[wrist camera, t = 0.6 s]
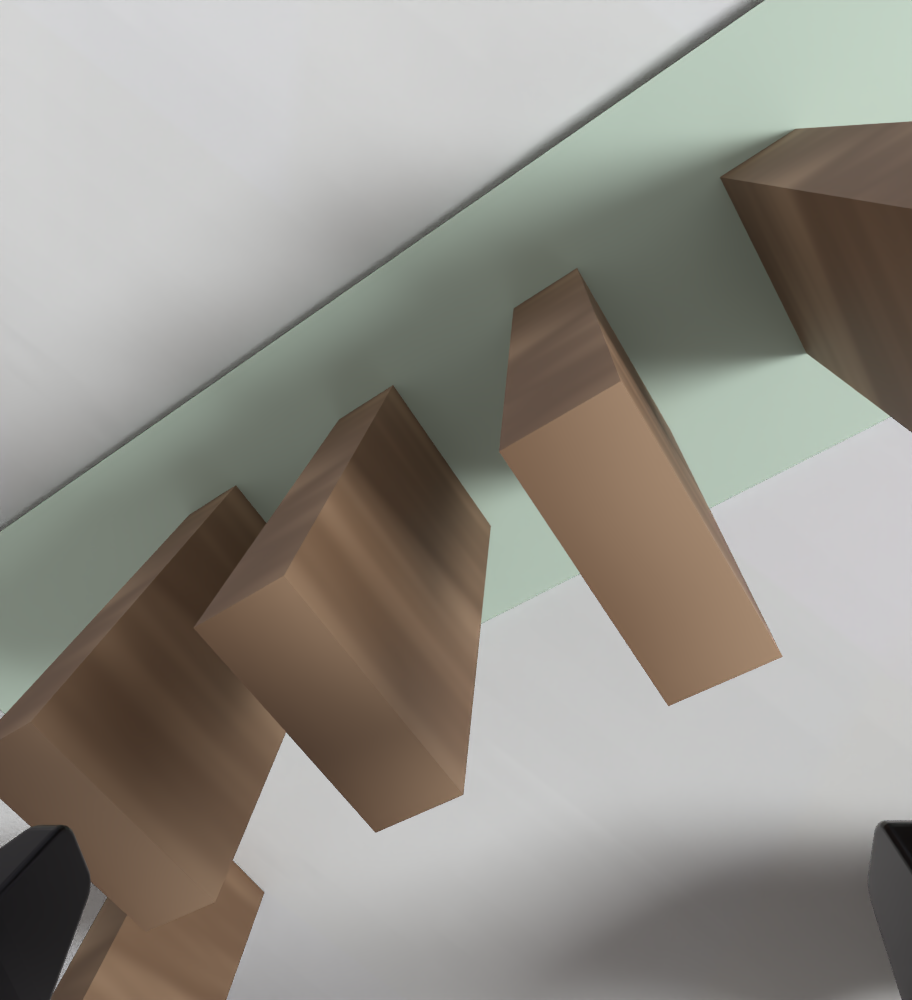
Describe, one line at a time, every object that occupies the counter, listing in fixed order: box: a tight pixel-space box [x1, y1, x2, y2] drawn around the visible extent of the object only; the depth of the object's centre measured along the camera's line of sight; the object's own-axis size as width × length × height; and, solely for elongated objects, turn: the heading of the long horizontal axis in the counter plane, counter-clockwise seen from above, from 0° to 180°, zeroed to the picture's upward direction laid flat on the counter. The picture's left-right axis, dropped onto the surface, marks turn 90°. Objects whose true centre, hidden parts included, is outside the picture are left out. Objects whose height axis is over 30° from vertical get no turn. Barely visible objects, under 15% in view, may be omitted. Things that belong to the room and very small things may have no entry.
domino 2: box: [51, 861, 264, 1000], centre depth 25 cm, size 2×5×10 cm, turn 33°
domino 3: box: [194, 385, 491, 833], centre depth 17 cm, size 2×5×10 cm, turn 33°
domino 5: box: [720, 121, 912, 432], centre depth 14 cm, size 2×5×10 cm, turn 33°
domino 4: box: [499, 268, 782, 706], centre depth 15 cm, size 2×5×10 cm, turn 33°
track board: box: [0, 0, 912, 714], centre depth 22 cm, size 10×34×1 cm, turn 123°
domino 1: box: [0, 485, 286, 932], centre depth 19 cm, size 2×5×10 cm, turn 34°
